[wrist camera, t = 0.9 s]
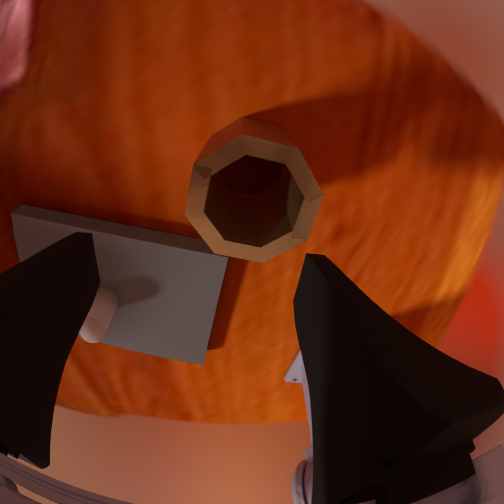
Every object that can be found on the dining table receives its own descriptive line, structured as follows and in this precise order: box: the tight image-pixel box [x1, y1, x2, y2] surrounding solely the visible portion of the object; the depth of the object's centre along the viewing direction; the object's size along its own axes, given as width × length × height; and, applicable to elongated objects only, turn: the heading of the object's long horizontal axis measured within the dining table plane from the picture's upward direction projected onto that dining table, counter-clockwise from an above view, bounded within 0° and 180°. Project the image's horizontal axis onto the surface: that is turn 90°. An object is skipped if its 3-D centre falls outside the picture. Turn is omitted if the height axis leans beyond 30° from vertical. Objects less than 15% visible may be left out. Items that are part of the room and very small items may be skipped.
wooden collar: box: [185, 117, 324, 263], centre depth 14 cm, size 5×5×6 cm
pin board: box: [11, 204, 229, 365], centre depth 18 cm, size 16×11×6 cm
